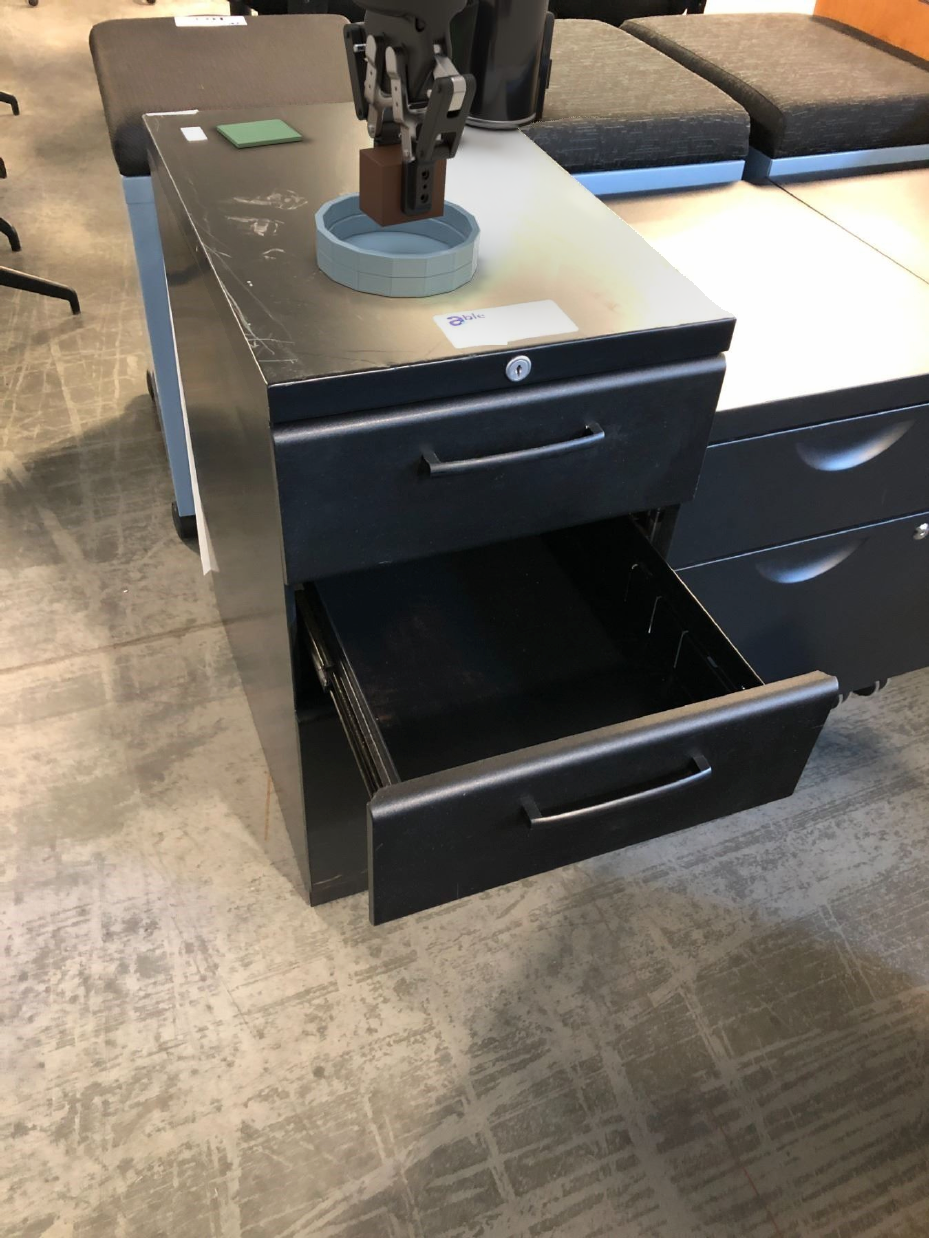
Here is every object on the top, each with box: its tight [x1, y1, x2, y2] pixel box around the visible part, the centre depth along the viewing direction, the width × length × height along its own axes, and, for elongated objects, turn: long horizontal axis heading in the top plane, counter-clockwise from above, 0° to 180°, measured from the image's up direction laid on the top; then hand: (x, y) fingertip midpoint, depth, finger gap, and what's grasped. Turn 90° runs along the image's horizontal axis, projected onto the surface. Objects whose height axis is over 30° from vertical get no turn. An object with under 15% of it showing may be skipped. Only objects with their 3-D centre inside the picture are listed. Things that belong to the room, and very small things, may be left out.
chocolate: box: [358, 141, 448, 227], centre depth 69 cm, size 5×3×4 cm, turn 123°
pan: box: [314, 192, 481, 298], centre depth 72 cm, size 12×12×4 cm
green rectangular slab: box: [216, 118, 303, 149], centre depth 91 cm, size 6×5×1 cm
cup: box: [399, 0, 479, 141], centre depth 90 cm, size 8×8×12 cm
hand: (401, 201), depth 70 cm, fingers closed on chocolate, 3 cm apart
